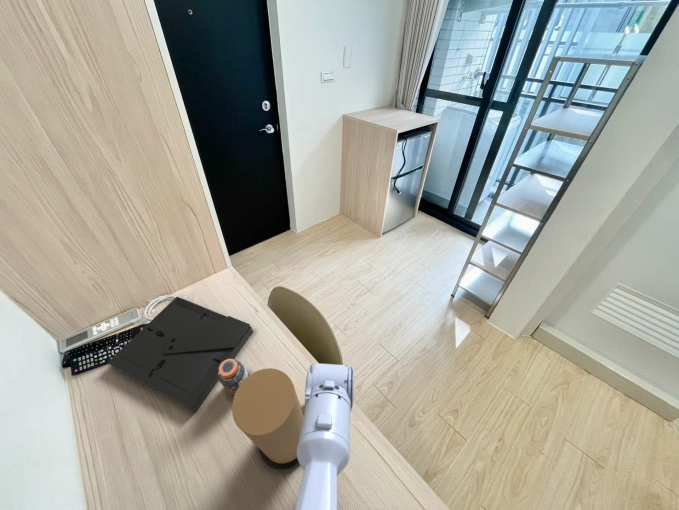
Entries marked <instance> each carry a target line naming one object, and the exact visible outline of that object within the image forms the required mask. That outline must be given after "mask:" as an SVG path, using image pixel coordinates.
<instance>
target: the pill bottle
mask: <svg viewBox="0 0 679 510" xmlns="http://www.w3.org/2000/svg"><path fill="white" fill-rule="evenodd" d="M246 368H247V367H245V365H244V364H243V362H242V361H240V360H238V359H234V360H233V359H227V360H225V361H223V362H222V363H221V364H220V366H219V373H218V379H219V381H218V382H219V383H220V384H221V385H222V386H223V388H224V389H225V390H226V391H227V393H228V394H229V396H231V397H233V398H234V395H235V393H236V391H237V389H238V387H239V386H240V384H241V383H242V382H243V381H244V380H245V379H246V378H247V377H248V376H249V375H250V374H249V372H248V371H247V369H246Z"/></svg>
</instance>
